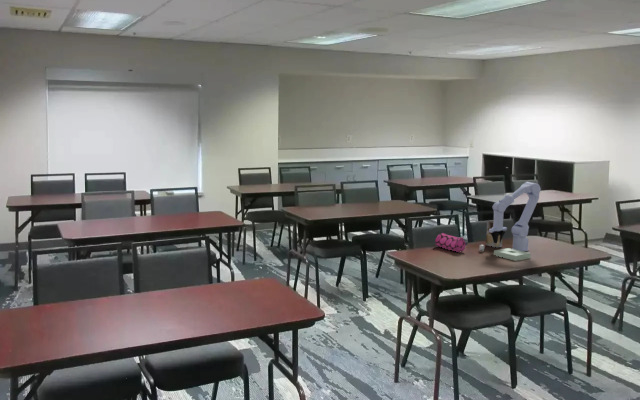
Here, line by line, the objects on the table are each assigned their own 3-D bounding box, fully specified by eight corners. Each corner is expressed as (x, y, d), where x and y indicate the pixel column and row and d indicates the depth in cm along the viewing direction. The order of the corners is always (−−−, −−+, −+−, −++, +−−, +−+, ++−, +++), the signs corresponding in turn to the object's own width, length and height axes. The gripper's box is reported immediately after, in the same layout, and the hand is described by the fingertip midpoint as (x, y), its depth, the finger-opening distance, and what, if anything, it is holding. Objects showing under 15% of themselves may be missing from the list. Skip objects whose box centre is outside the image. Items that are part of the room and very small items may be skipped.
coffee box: (502, 247, 370) (503, 222, 368) (494, 247, 368) (496, 223, 365) (492, 244, 379) (494, 220, 376) (485, 245, 376) (486, 221, 374)
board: (508, 252, 354) (508, 248, 353) (530, 258, 341) (530, 253, 340) (493, 255, 346) (493, 250, 346) (515, 260, 333) (515, 255, 333)
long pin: (496, 245, 358) (497, 234, 357) (500, 245, 356) (501, 235, 355) (493, 245, 357) (494, 234, 356) (497, 246, 354) (497, 235, 353)
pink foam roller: (467, 252, 354) (468, 236, 353) (456, 254, 349) (457, 238, 348) (443, 245, 372) (444, 230, 371) (432, 247, 367) (433, 232, 366)
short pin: (481, 250, 358) (481, 244, 358) (485, 251, 356) (485, 245, 355) (478, 251, 357) (478, 245, 356) (481, 252, 354) (482, 246, 354)
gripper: (500, 219, 361) (499, 240, 363) (485, 221, 353) (484, 242, 355) (509, 221, 355) (508, 242, 357) (494, 223, 348) (493, 244, 349)
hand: (497, 242), depth 356 cm, fingers closed on long pin, 3 cm apart
